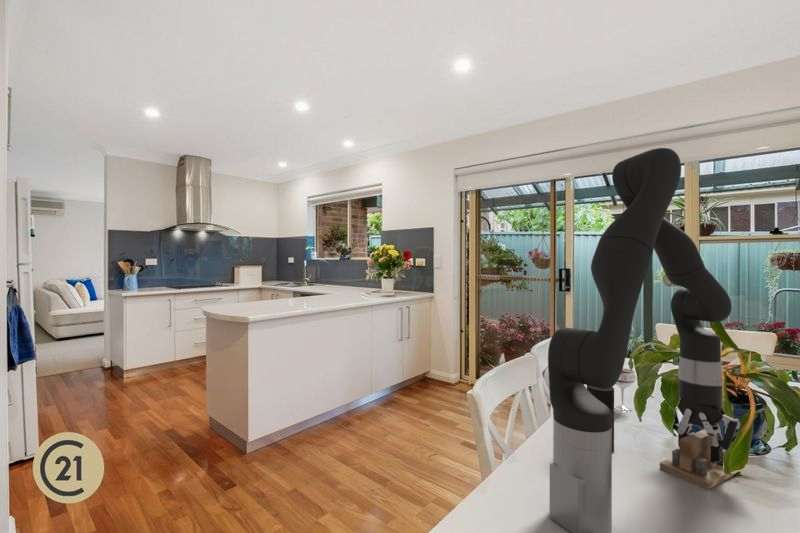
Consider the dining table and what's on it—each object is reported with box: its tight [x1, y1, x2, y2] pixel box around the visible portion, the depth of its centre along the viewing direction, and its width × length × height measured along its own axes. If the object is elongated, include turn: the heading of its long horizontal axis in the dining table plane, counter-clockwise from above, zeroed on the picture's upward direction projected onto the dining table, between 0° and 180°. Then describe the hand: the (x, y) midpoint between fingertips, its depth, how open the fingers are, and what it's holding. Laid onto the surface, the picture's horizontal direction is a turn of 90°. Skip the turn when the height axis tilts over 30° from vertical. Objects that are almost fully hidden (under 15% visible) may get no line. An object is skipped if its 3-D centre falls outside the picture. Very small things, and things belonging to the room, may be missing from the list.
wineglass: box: [615, 367, 636, 410], centre depth 118 cm, size 7×7×12 cm
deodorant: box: [586, 385, 615, 454], centre depth 91 cm, size 6×6×15 cm
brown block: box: [678, 428, 712, 472], centre depth 81 cm, size 12×2×6 cm, turn 118°
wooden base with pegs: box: [659, 448, 735, 490], centre depth 82 cm, size 14×9×4 cm, turn 118°
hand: (699, 456), depth 82 cm, fingers open, 5 cm apart
